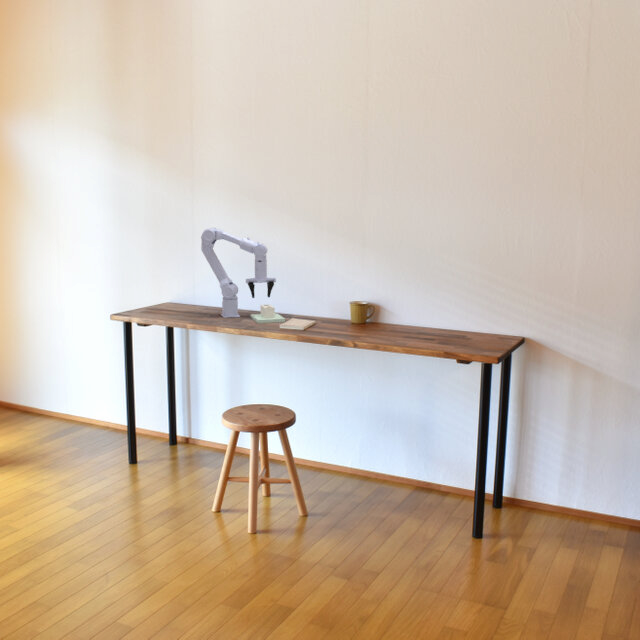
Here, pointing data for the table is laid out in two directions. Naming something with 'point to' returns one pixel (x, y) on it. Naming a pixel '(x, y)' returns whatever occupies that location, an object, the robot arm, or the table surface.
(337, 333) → the table surface
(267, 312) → the beige hollow block
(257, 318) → the pin plate
